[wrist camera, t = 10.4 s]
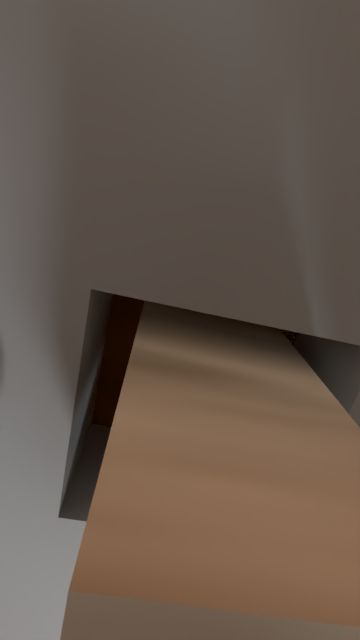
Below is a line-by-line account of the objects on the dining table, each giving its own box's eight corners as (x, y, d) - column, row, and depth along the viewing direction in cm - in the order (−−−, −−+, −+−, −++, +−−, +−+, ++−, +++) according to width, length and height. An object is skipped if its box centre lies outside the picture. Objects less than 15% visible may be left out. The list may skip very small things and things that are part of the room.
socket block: (336, 571, 16) (387, 687, 12) (-68, 514, 14) (-154, 628, 10) (563, 154, 10) (798, 128, 6) (-78, -29, 8) (-283, -212, 5)
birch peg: (237, 426, 13) (356, 845, 5) (123, 406, 13) (27, 825, 4) (273, 321, 12) (540, 649, 3) (146, 294, 11) (68, 589, 3)
